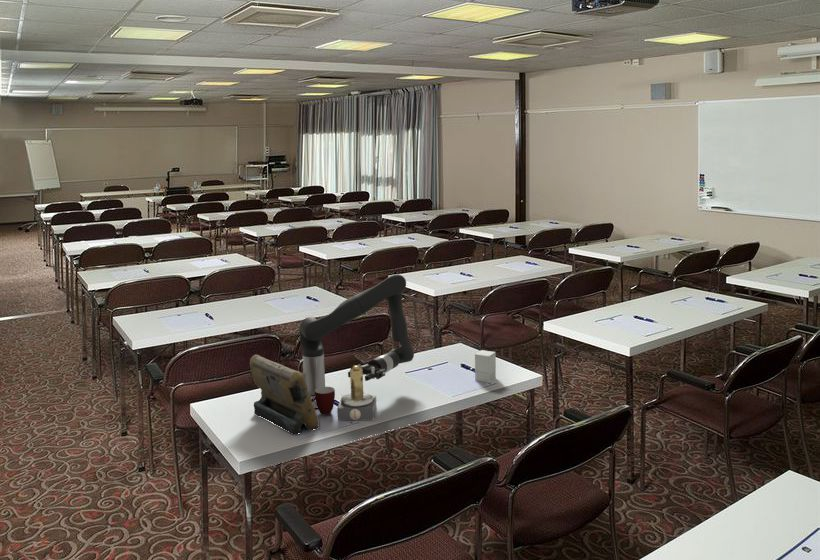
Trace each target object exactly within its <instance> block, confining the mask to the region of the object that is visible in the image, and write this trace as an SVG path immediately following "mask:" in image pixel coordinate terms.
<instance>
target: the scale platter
mask: <svg viewBox="0 0 820 560" xmlns="http://www.w3.org/2000/svg"><path fill="white" fill-rule="evenodd" d="M343 395H344V396H343V397H342V396H341V397H340V400H341V403H342V404H343V405H345V406H349V407H362V406H366V405H369V404H371V403H372V402H373V396H372V395H373V394H369V393H367V392H363V395H364V398H363V399H362V400H359V401H354V400H352V399H351V392H350V393H347V394H343Z"/></svg>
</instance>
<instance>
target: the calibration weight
mask: <svg viewBox="0 0 820 560" xmlns="http://www.w3.org/2000/svg"><path fill="white" fill-rule="evenodd" d="M352 367H353V369H351V368H350V370H349V372H350V377H349V379H350V380H349V381H350V393H351V399H352V400H354V401H359V400H362V399H363V398H364V395H363V393H364V375H363V370H362V369H361V368H359V365H358V364H356V365H352Z"/></svg>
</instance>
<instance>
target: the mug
mask: <svg viewBox="0 0 820 560" xmlns="http://www.w3.org/2000/svg"><path fill="white" fill-rule="evenodd" d="M335 391H336V390H335V388H334V387H332V386H325V387H319V388H317V389H315V395H314V397H311V401H312V404H313V402H315V403H316V407H314V409H315V411H317V410H318V411H319V413H320V415H322V416H327V415H330V414H331V413H332V411H333V409H334V405H335V398H336V394H335V393H336V392H335Z"/></svg>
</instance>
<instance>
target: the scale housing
mask: <svg viewBox="0 0 820 560" xmlns="http://www.w3.org/2000/svg"><path fill="white" fill-rule="evenodd" d="M344 395H345V394H343V395H341V398H342V397H343V396H344ZM371 395H372V396H373V402H372V403H371V404H369V405H366V406H362V407H349V406H345V405H343V404H342V403H341V399H340V401H339V403H338V405H337V409H336V410H337V420H338V421H374V418H375V414H376V410H377V394H371Z"/></svg>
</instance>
